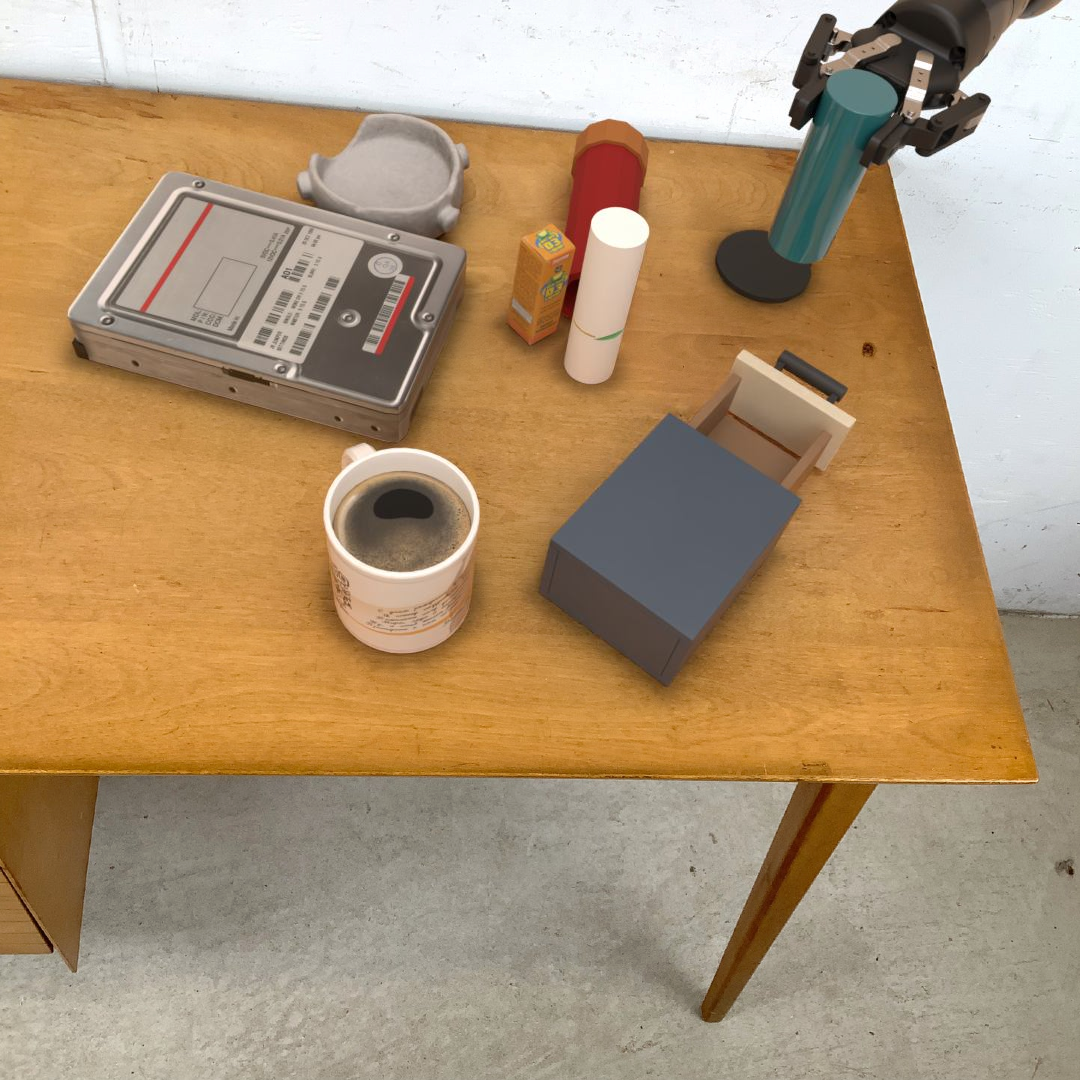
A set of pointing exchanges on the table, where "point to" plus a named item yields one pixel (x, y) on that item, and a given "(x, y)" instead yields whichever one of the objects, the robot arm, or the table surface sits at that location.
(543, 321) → the supplement box
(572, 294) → the shell casing
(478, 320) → the table surface
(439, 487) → the mug
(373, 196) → the dish
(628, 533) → the cabinet
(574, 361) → the tube
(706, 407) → the drawer
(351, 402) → the hard drive
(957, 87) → the robot arm
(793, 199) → the canister
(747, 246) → the coaster
